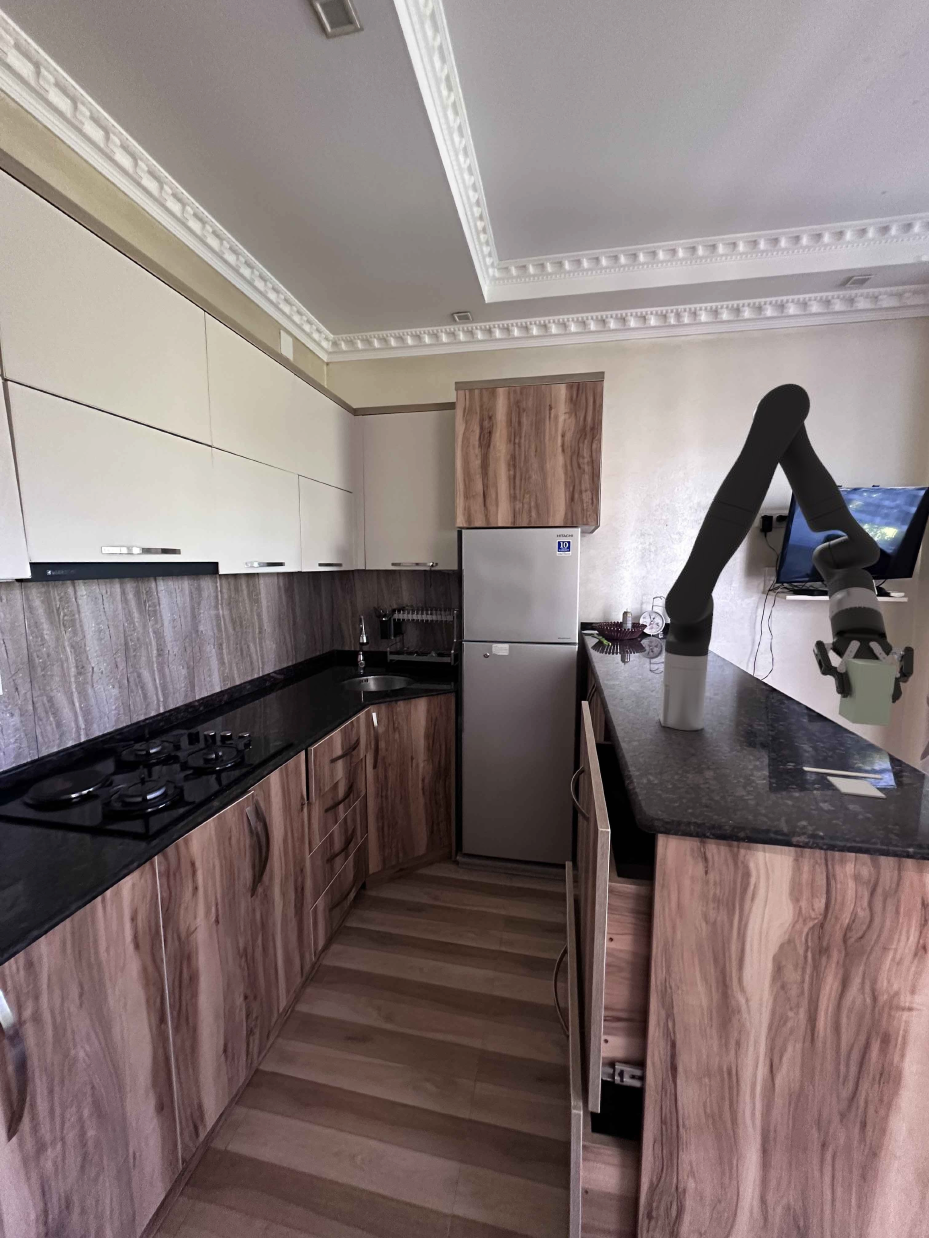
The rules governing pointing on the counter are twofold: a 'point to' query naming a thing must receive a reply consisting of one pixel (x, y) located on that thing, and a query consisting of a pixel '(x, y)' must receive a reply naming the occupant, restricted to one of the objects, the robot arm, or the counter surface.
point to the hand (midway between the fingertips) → (869, 697)
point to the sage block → (868, 692)
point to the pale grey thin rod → (842, 773)
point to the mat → (855, 787)
